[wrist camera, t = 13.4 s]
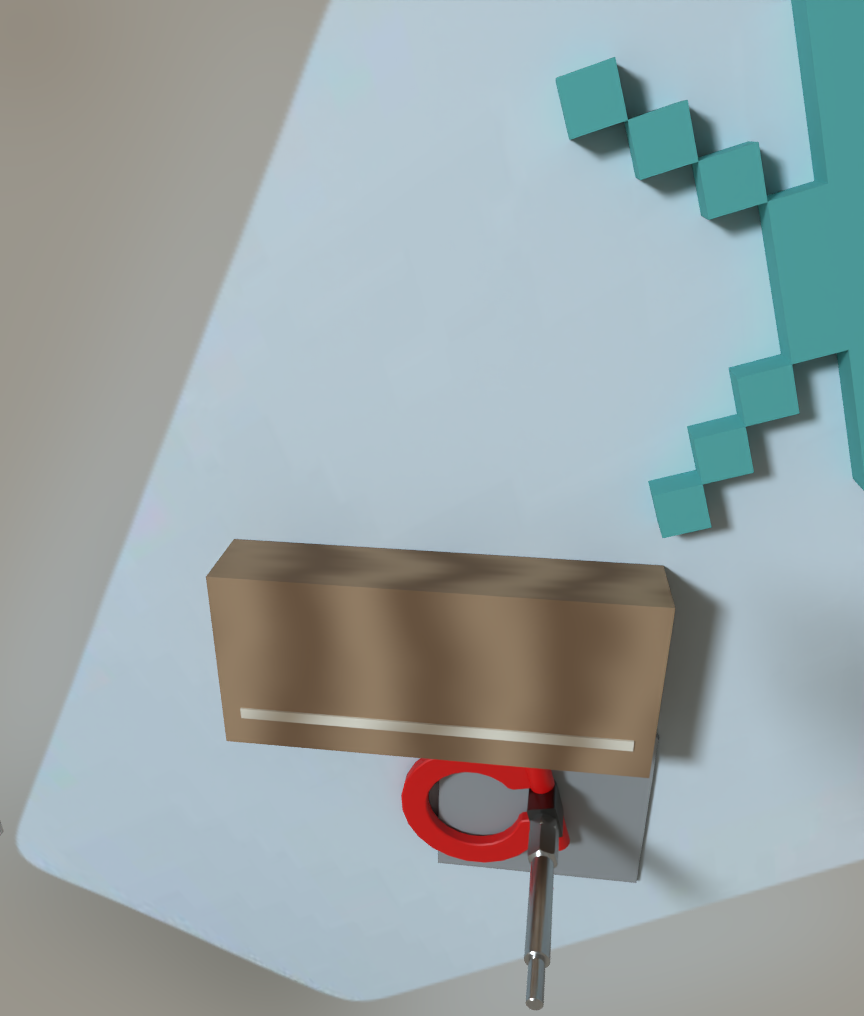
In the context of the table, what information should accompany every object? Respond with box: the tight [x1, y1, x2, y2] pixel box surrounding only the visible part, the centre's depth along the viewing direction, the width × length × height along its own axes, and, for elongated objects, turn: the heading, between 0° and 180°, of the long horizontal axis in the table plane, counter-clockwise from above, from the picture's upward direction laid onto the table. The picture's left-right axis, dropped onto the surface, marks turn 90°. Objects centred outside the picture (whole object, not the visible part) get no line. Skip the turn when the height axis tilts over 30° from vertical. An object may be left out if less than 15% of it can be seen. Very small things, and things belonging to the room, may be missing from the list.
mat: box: [438, 735, 659, 883], centre depth 48 cm, size 12×11×1 cm
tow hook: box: [401, 758, 570, 1010], centre depth 42 cm, size 8×13×9 cm
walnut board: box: [206, 539, 675, 778], centre depth 42 cm, size 22×10×4 cm, turn 90°
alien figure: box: [556, 0, 864, 538], centre depth 33 cm, size 20×2×20 cm
